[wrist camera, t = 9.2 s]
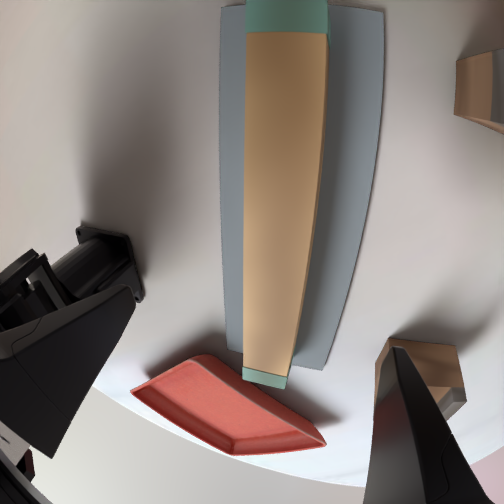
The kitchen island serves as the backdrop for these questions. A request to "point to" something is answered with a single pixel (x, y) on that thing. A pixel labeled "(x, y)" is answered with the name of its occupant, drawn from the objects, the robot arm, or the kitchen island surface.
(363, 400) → the kitchen island surface
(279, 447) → the plant saucer
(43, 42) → the kitchen island surface
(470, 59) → the post
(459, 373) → the post
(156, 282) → the kitchen island surface
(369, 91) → the mat
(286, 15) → the rail
